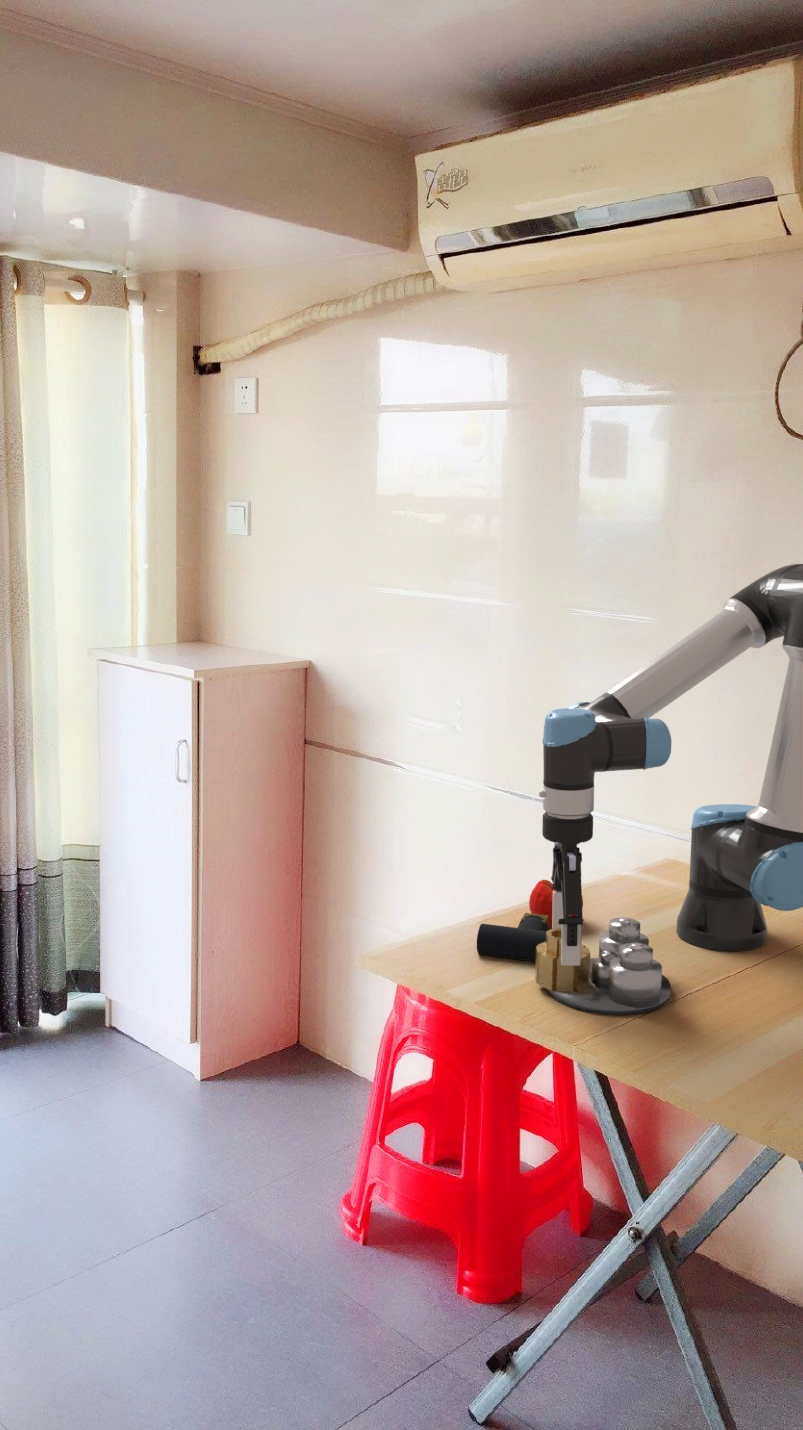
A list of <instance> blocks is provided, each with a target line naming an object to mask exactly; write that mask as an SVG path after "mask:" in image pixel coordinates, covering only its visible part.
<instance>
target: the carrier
mask: <svg viewBox="0 0 803 1430" xmlns="http://www.w3.org/2000/svg"><path fill="white" fill-rule="evenodd" d="M608 924H609V925H608V930H607V931H603V932H601V933H600V934H599V943H598V944H599V947H598V957H596V958H595V957H594V958H593V957H590V976H589V985H588V987H585V988H583V989H581V990H578V991H577V990H574V989H573V992H571V991H556V989H554V990H549V989H547V988H545V990H546V992H547V994H548V995H549V996H550V997H551V998H552V999H554V1000H555V1001H556V1002H558V1003H560V1004H562V1005H563V1006H566V1007H568V1006H569V1008H571V1007H572V1009H574V1008H575V1009H574V1010H577V1011H581V1010H582V1011H581V1012H584V1011H585V1012H584V1013H590V1014H595V1015H603V1016H604V1015H605V1016H618V1017H619V1016H634V1015H635V1016H636V1015H642V1014H648V1013H651V1012H654V1011H657V1010H659V1009H661V1008H663V1007H665V1006H666V1005H667V1004H668V1003H669V1002H670V1000H671V996H672V984H671V982H670V980H669V979H668V978H667V977H666V976H665V975H663V974H662V973H663V966H662V964H661V963H660V962H659V961H657V960H656V959H654V949H653V947H651V946H650V944H649V943H650V939H649V937H648V936H647V935H645V934H643V933H641V923H640V921H638V920H637V919H634V918H629V917H615V918H611V919H610V920H609V921H608Z"/></svg>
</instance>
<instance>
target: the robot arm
mask: <svg viewBox="0 0 803 1430" xmlns="http://www.w3.org/2000/svg"><path fill="white" fill-rule="evenodd" d="M782 637H783V640H782V644H781V645H782V646H781V647H782V648H783V650H784V652H785V653H786V655H787V656H788V660H789V661H788V665H787V670H786V675H785V679H784V684H783V688H782V693H781V696H780V697H781V698H780V702H779V703H780V704H779V706H778V711H777V715H776V717H777V718H776V721H775V725H774V731H773V735H772V736H773V737H772V740H771V744H770V747H769V748H770V749H769V753H768V760H767V763H766V767H765V768H766V769H765V773H764V776H763V781H762V786H761V790H760V795H759V796H760V797H759V801H758V805H750V804H736V803H734V804H733V803H727V804H724V803H723V804H718V803H717V804H708V805H707V804H706V805H702V806H700V807H698V808H696V809H695V811H694V813H693V816H692V823H691V826H690V830H691V839H690V840H691V842H690V859H689V860H690V861H689V880H688V881H689V883H688V890H687V893H686V895H685V898H684V901H683V903H682V906H681V907H680V911H679V913H678V915H677V919H676V928H675V929H676V930H675V932H676V934H677V936H678V937H679V938H681V939H682V940H684V941H685V942H687V943H689V944H691V945H694V946H697V947H701V948H705V949H709V950H710V949H711V950H716V951H726V952H738V951H739V952H742V951H751V950H755V949H758V948H761V947H763V946H764V945H765V944H766V943H767V941H768V940H767V939H768V925H767V922H766V918H765V915H764V911H763V907H762V906H766V907H769V908H771V909H774V910H777V911H783V912H787V911H788V912H790V911H796V910H799V909H801V908H802V909H803V563H793V564H789V565H788V564H787V565H784V566H782V567H779V568H777V569H775V570H772V571H770V572H769V573H767V574H765V575H763V576H761V577H759V578H757V579H756V580H754V581H753V582H751V583H750V584H748V585H747V586H745V587H743V588H742V589H741V590H739V591H738V592H737V593H735V594H733V595H732V596H731V597H729V598H728V599H726V600H725V602H724V603H723V609H722V610H721V611H720V612H718V613H717V614H715V615H714V616H713V617H711V618H710V619H708V620H707V621H706V622H705V623H703V624H702V625H700V626H698V627H697V628H696V629H694V630H693V631H691V632H690V633H688V634H687V635H686V636H684V637H682V639H680V640H678V641H677V642H676V643H674V644H673V645H671V646H670V647H668V648H667V649H666V650H664V651H663V652H661V653H660V654H658V655H656V657H654V658H653V659H651V660H650V661H649V662H647V663H645V664H644V665H642V666H641V667H640V668H639V669H637V670H636V671H634V672H632V673H631V674H630V675H628V676H627V677H626V678H624V679H623V680H622V681H619V682H618V683H617V684H615V685H614V686H613V687H612V688H610V689H609V690H607V691H606V692H604V693H602V694H601V695H600V696H598V697H597V698H596V699H594V700H593V701H591V702H589V701H586V702H584V701H580V702H576V703H573V704H571V705H570V706H569V707H568V708H567V707H566V708H557V709H553V710H551V711H549V712H548V713H547V714H546V715H545V718H544V725H543V735H542V736H543V737H542V745H543V747H542V748H543V752H542V753H543V755H542V756H543V779H542V781H543V787H542V788H543V789H544V790H540V791H539V792H538V796H539V797H540V798H543V799H542V809H543V810H544V811H545V812H543V814H542V825H541V827H542V834H541V835H542V836H543V838H544V839H545V840H547V841H548V842H552V843H554V845H553V846H554V847H553V848H552V857H553V859H552V872H551V873H552V874H551V877H550V878H551V881H552V882H551V883H552V887H553V890H556V891H553V914H552V927H551V929H556V928H562V942H561V965H562V966H580V948H581V944H582V925H583V924H584V917H583V915H584V914H583V909H582V898H583V892H582V891H583V889H582V862H583V857H582V856H583V854H582V852H580V851H581V850H580V847H578V845H579V844H581V843H583V844H585V843H587V842H589V841H591V840H592V839H593V836H594V815H592V812H594V809H595V774H596V773H604V772H616V771H617V772H618V771H631V770H633V771H634V770H635V771H636V770H644V771H645V770H647V769H653V768H659V767H663V766H664V765H666V764H667V763H668V761H669V759H670V757H671V753H672V743H673V742H672V735H671V733H670V729H669V727H668V725H667V724H666V723H665V721H664V720H662V719H660V718H652V717H653V716H654V715H655V714H658V713H659V712H661V710H663V709H665V708H666V707H667V706H669V705H670V704H671V703H673V702H674V701H676V700H677V699H679V698H680V697H682V695H684V694H686V693H687V692H689V691H690V690H692V688H694V687H696V686H697V685H699V684H700V683H702V682H703V681H704V680H706V679H707V678H709V677H710V676H712V675H713V674H714V673H716V672H717V671H718V670H720V669H721V668H723V667H724V666H725V665H727V664H729V663H730V662H731V661H733V660H734V659H736V658H737V657H739V656H740V655H741V654H743V653H744V652H746V651H747V650H748V649H750V648H753V649H761V648H763V647H764V646H765V645H767V644H768V643H770V642H771V641H773V640H775V639H776V640H777V639H778V638H782ZM570 915H577V916H570ZM764 943H765V944H764ZM763 944H764V945H763ZM762 945H763V946H762Z"/></svg>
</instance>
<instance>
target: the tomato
mask: <svg viewBox="0 0 803 1430" xmlns="http://www.w3.org/2000/svg"><path fill="white" fill-rule="evenodd" d="M552 884H553V882H551V881H550V880H548V879H542V880H539V881H538V882H537V883H536V884H535V886H534V887H533V889H532V890H531V893H530V896H529V899H528V900H529V901H528V904H529V905H528V906H529V910H530V913H533V914H539V915H549V920H548V923H549V925H550V928H552V914H553V891H556V890H553V887H552ZM583 899H584V898H583V897H582V910H583V907H584V900H583ZM570 916H577V915H570Z"/></svg>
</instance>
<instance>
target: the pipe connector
mask: <svg viewBox="0 0 803 1430" xmlns="http://www.w3.org/2000/svg"><path fill="white" fill-rule="evenodd" d="M548 920H549V915H539V914H533V913H531V912H525V913H524V914H523V916H522V918H521V919H520V922H519V924H518V926H517V927H514V926H513V927H512V926H504V925H498V924H497V925H496V924H490V923H481V924H480V925H479V928H478V931H477V935H476V951H477V954H478V955H485V956H492V957H501V958H508V959H516V960H521V961H531V962H536V946H538V944H541V943H543V942H546V932H547V931H548V930H551V927H550V925H549V923H548Z"/></svg>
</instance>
